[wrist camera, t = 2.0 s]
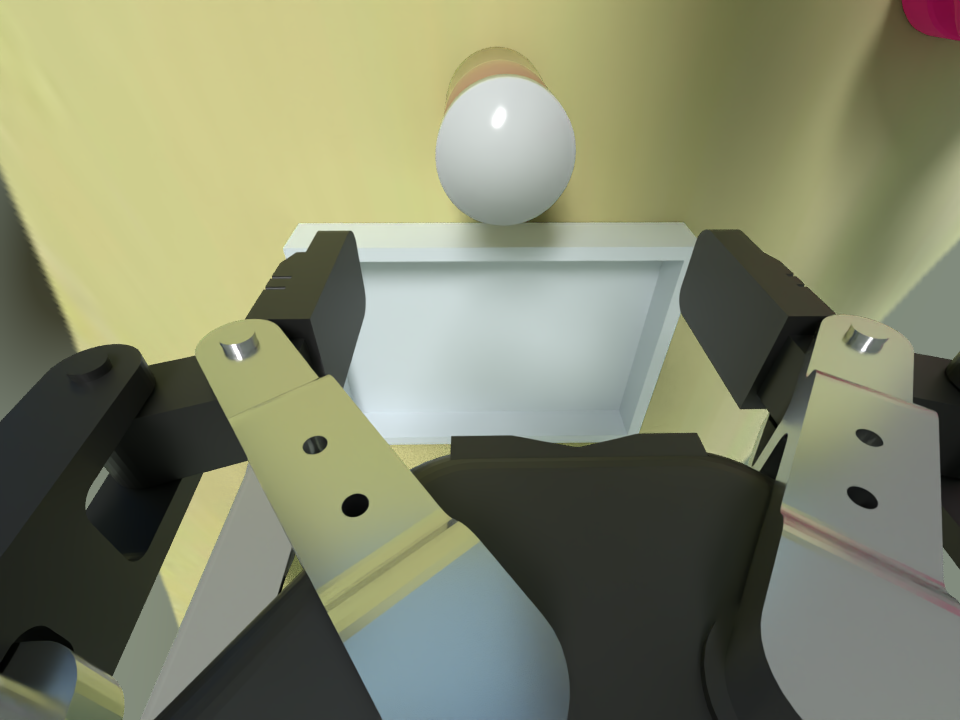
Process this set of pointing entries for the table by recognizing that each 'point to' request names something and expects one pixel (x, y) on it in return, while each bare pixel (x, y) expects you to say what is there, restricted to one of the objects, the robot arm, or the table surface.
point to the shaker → (503, 140)
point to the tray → (511, 326)
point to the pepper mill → (934, 17)
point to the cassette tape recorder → (227, 591)
